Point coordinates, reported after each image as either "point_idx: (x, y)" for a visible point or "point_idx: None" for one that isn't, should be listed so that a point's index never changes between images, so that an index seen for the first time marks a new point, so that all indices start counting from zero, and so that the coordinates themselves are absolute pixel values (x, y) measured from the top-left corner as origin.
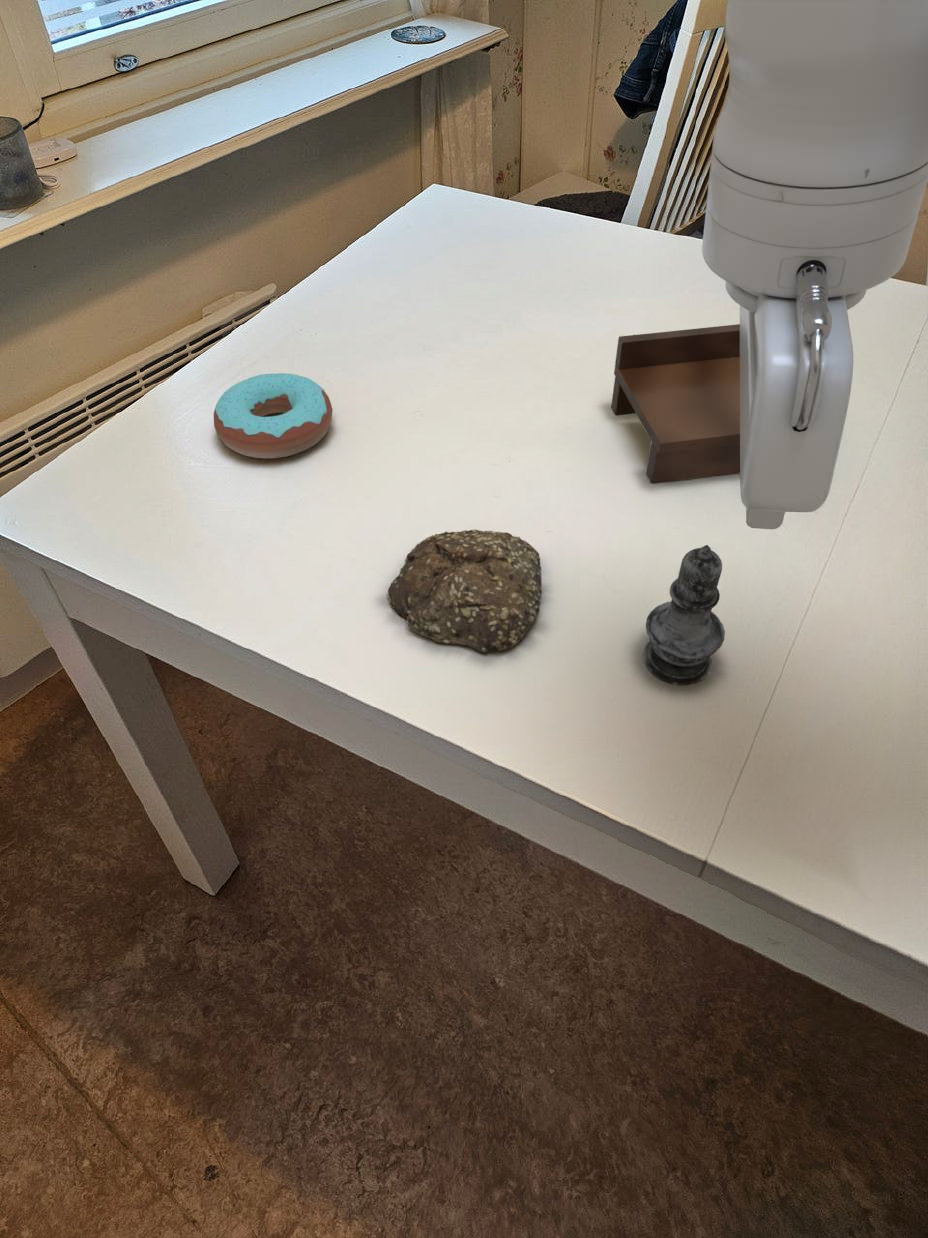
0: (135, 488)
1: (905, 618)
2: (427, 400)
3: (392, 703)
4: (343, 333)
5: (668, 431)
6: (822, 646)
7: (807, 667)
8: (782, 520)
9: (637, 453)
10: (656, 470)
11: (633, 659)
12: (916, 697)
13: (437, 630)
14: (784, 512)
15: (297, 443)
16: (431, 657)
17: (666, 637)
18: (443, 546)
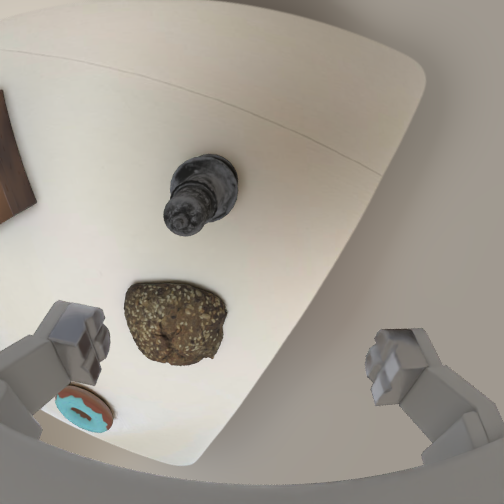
0: (150, 442)
1: (144, 5)
2: None
3: (272, 352)
4: None
5: (2, 209)
6: (180, 64)
7: (205, 77)
8: (428, 337)
9: None
10: (28, 204)
11: None
12: (229, 3)
13: (219, 343)
14: (435, 350)
15: (97, 404)
16: (234, 338)
17: (220, 209)
18: (161, 358)
